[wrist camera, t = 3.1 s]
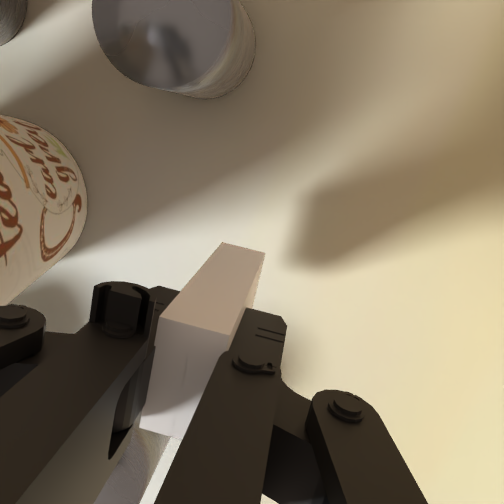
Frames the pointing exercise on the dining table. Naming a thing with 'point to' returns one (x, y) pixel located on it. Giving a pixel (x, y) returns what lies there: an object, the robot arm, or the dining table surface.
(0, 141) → the mug
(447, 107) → the dining table surface
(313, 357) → the dining table surface
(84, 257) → the dining table surface
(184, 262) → the dining table surface
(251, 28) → the spacer field
